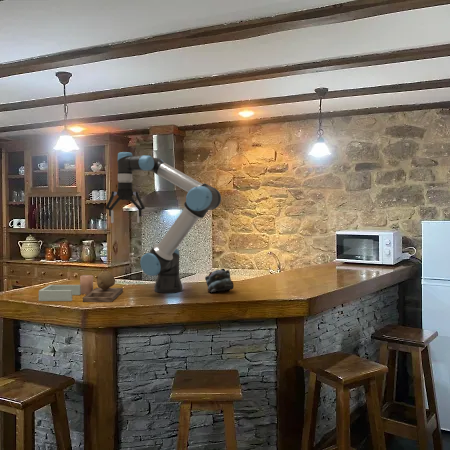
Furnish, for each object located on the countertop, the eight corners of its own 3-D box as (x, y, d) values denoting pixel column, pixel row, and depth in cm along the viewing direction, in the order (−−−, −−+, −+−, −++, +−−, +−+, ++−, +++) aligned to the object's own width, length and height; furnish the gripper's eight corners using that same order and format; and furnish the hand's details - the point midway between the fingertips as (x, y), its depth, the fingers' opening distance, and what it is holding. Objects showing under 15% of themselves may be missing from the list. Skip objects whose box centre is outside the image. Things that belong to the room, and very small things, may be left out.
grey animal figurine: (204, 293, 249) (200, 268, 254) (211, 298, 259) (206, 274, 265) (231, 286, 246) (226, 261, 251) (237, 291, 257) (232, 267, 262)
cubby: (80, 294, 246) (80, 284, 246) (71, 301, 230) (71, 290, 230) (50, 294, 246) (50, 284, 245) (38, 301, 230) (38, 290, 229)
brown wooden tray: (122, 291, 254) (122, 287, 254) (112, 301, 228) (112, 297, 228) (96, 291, 254) (96, 287, 254) (82, 301, 228) (82, 297, 228)
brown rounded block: (94, 291, 253) (94, 275, 253) (91, 294, 247) (91, 276, 246) (82, 291, 253) (82, 275, 253) (78, 294, 247) (78, 276, 246)
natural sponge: (117, 288, 251) (117, 270, 250) (111, 292, 242) (111, 272, 242) (100, 288, 252) (100, 269, 251) (94, 291, 243) (94, 272, 243)
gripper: (150, 182, 253) (150, 222, 254) (102, 182, 253) (103, 222, 254) (148, 182, 246) (148, 223, 247) (99, 181, 245) (99, 223, 246)
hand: (125, 222), depth 250 cm, fingers open, 13 cm apart
